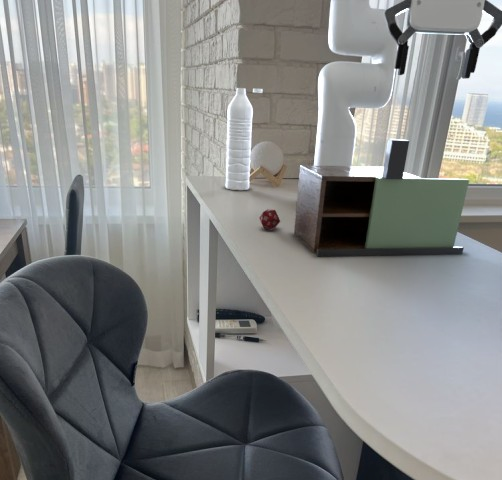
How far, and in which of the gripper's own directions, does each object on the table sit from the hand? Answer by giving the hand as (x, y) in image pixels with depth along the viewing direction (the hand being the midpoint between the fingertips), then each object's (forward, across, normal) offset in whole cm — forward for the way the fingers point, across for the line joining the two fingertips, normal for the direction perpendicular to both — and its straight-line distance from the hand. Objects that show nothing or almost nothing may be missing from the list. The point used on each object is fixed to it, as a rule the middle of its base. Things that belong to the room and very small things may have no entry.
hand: (432, 76), depth 78 cm
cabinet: (+28, +4, -5) cm, 29 cm away
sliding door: (+28, -2, -1) cm, 28 cm away
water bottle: (+28, +38, -50) cm, 69 cm away
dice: (+28, +25, -9) cm, 39 cm away
